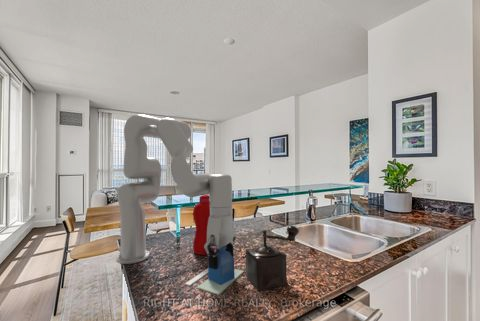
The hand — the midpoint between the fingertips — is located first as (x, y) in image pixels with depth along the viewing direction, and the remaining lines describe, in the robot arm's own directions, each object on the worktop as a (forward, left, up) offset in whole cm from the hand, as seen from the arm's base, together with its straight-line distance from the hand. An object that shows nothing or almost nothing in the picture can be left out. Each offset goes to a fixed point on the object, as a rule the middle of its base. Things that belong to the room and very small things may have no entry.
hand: (221, 262), depth 76 cm
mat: (0, 0, -6) cm, 6 cm away
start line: (-8, 0, -6) cm, 10 cm away
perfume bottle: (0, 0, -6) cm, 6 cm away
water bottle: (-21, +17, -6) cm, 28 cm away
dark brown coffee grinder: (+15, +8, -6) cm, 18 cm away
